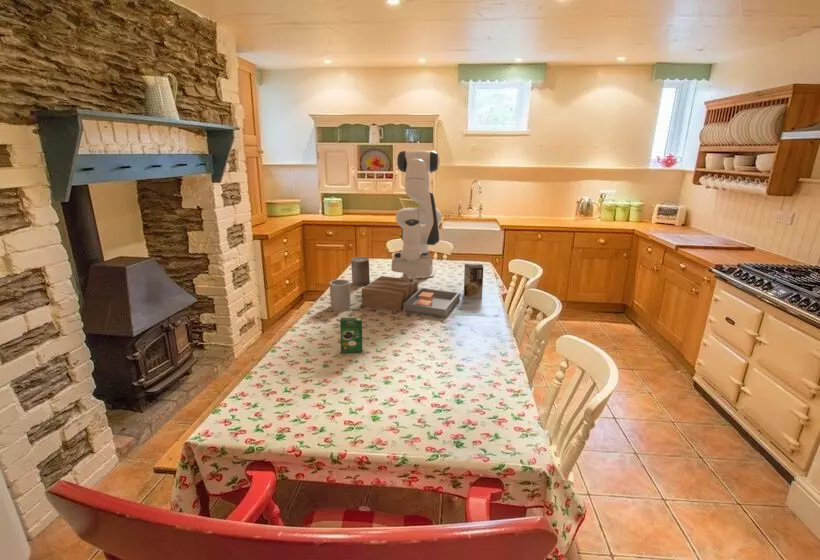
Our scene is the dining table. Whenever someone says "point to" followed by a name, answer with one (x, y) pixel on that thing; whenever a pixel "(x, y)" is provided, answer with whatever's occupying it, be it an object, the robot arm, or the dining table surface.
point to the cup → (340, 294)
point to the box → (433, 303)
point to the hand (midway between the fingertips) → (411, 281)
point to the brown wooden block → (388, 292)
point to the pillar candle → (360, 271)
